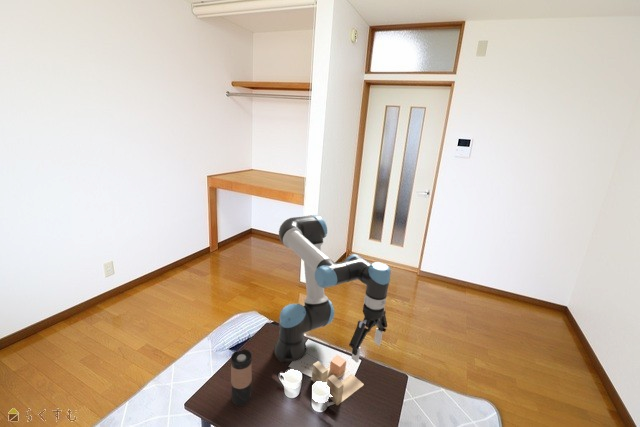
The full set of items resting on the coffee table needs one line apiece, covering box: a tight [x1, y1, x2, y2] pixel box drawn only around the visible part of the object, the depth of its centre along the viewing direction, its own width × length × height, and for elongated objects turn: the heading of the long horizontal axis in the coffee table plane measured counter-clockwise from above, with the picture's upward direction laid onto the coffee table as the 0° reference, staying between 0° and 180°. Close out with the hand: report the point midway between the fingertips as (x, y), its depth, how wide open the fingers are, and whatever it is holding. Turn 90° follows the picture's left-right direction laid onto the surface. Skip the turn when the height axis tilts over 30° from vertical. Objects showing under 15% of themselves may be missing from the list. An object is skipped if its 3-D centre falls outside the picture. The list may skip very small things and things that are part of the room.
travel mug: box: [230, 349, 253, 407], centre depth 115 cm, size 8×8×20 cm
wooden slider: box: [310, 360, 349, 383], centre depth 130 cm, size 7×16×9 cm, turn 132°
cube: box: [329, 354, 347, 376], centre depth 133 cm, size 5×5×5 cm
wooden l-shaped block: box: [327, 373, 365, 406], centre depth 123 cm, size 7×16×9 cm, turn 132°
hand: (366, 351), depth 116 cm, fingers open, 13 cm apart
